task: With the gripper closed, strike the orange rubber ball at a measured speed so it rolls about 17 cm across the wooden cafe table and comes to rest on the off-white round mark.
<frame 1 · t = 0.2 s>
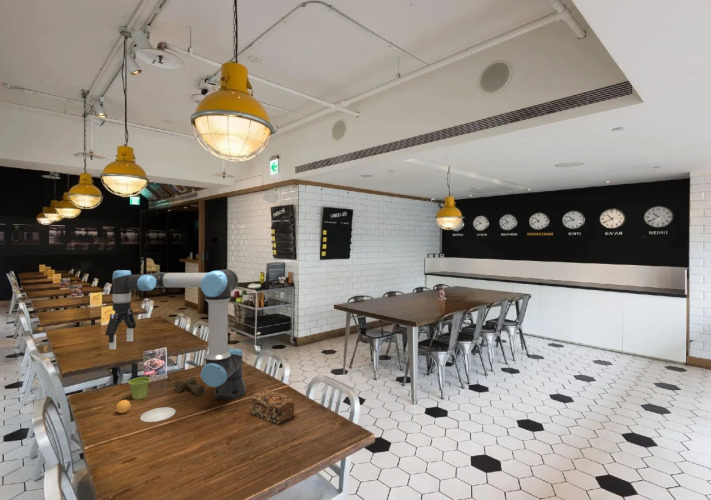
hand: (121, 345, 179), 27 cm above the table, tool pointing down, fingers open, 13 cm apart
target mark: (158, 414, 165), on the table
bread: (272, 415, 166), on the table
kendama: (189, 391, 192), on the table
plant pot: (139, 397, 183), on the table
ball: (123, 406, 167), on the table
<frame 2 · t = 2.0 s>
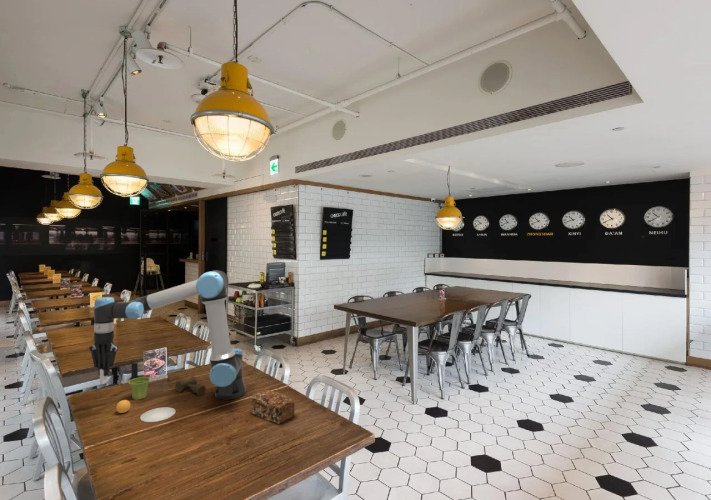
hand: (103, 382, 168), 13 cm above the table, tool pointing down, fingers closed
nothing on the table moved.
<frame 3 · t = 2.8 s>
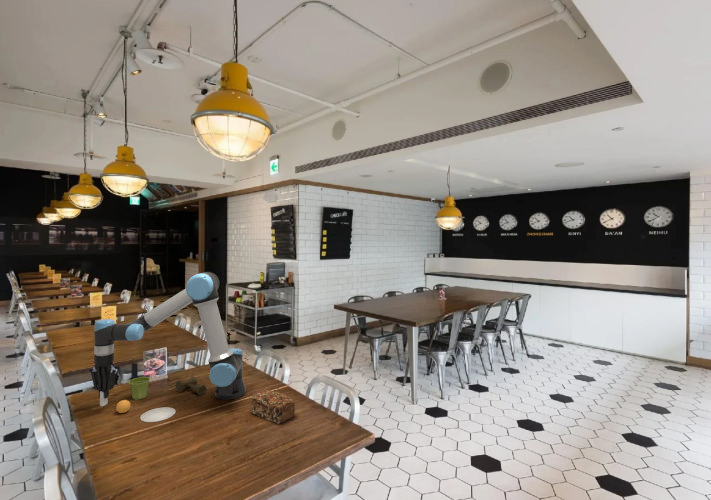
hand: (103, 404, 168), 3 cm above the table, tool pointing down, fingers closed
nothing on the table moved.
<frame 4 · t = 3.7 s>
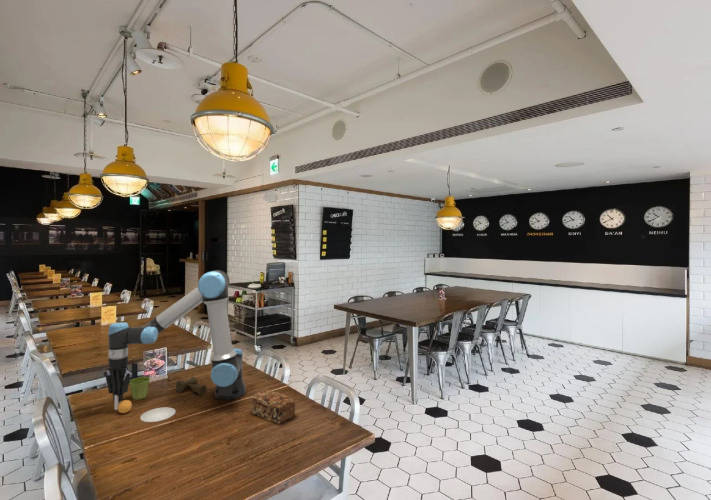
hand: (118, 408, 167), 2 cm above the table, tool pointing down, fingers closed
ball: (124, 406, 167), on the table, touching gripper
everything else where it was.
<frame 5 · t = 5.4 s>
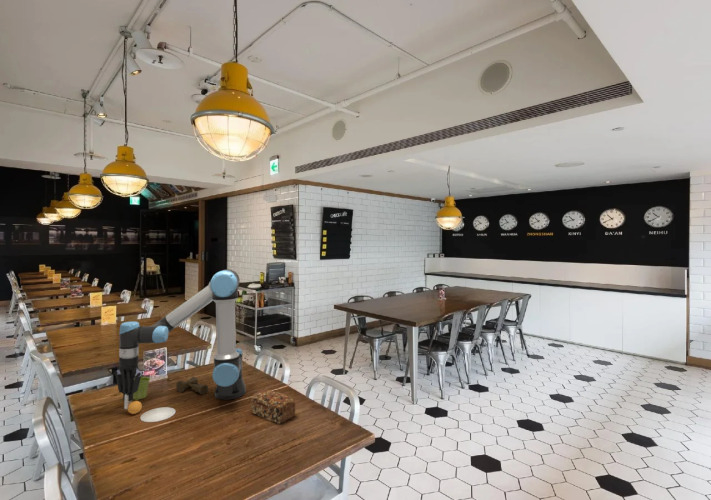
hand: (128, 407, 166), 2 cm above the table, tool pointing down, fingers closed
ball: (134, 407, 166), on the table, touching gripper
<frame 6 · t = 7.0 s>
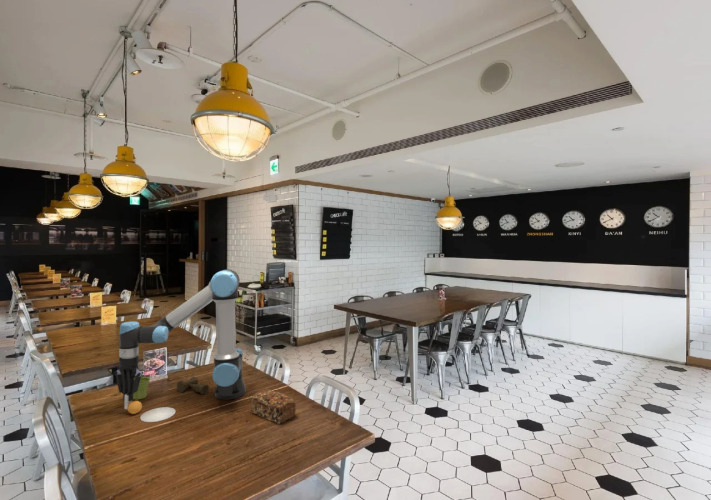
hand: (128, 407, 166), 2 cm above the table, tool pointing down, fingers closed
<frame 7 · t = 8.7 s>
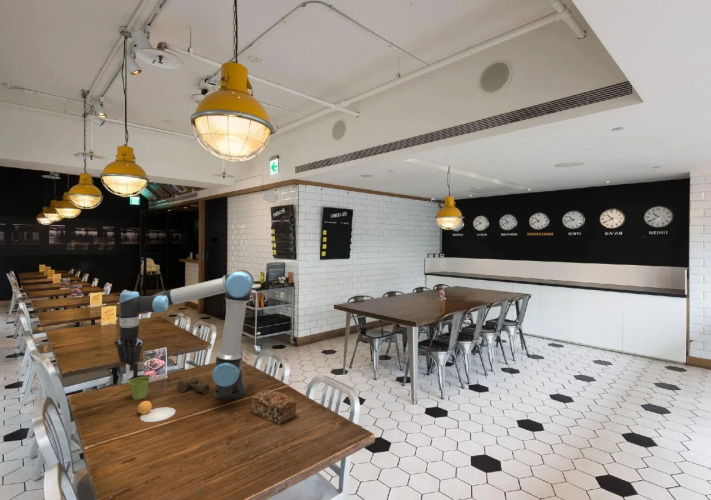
hand: (129, 377, 166), 16 cm above the table, tool pointing down, fingers closed
ball: (144, 407, 166), on the table
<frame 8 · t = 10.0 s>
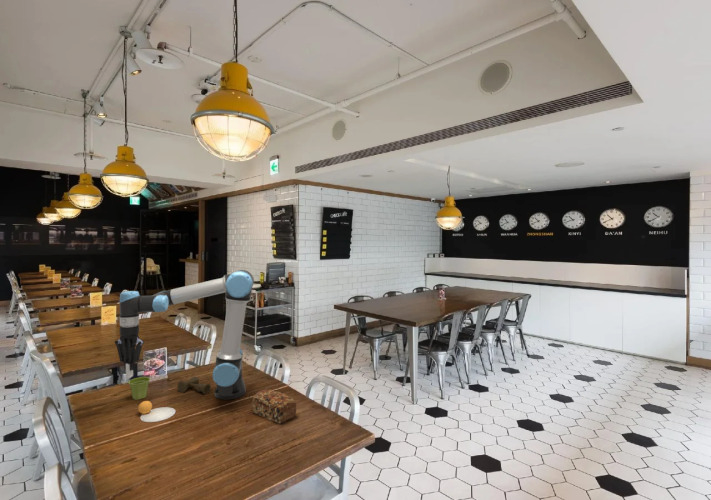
hand: (129, 377, 166), 16 cm above the table, tool pointing down, fingers closed
at the end: ball 6.6 cm from the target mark (horizontally); ball at rest at the end (0.0 cm/s); ball moved 10.4 cm from its start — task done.
